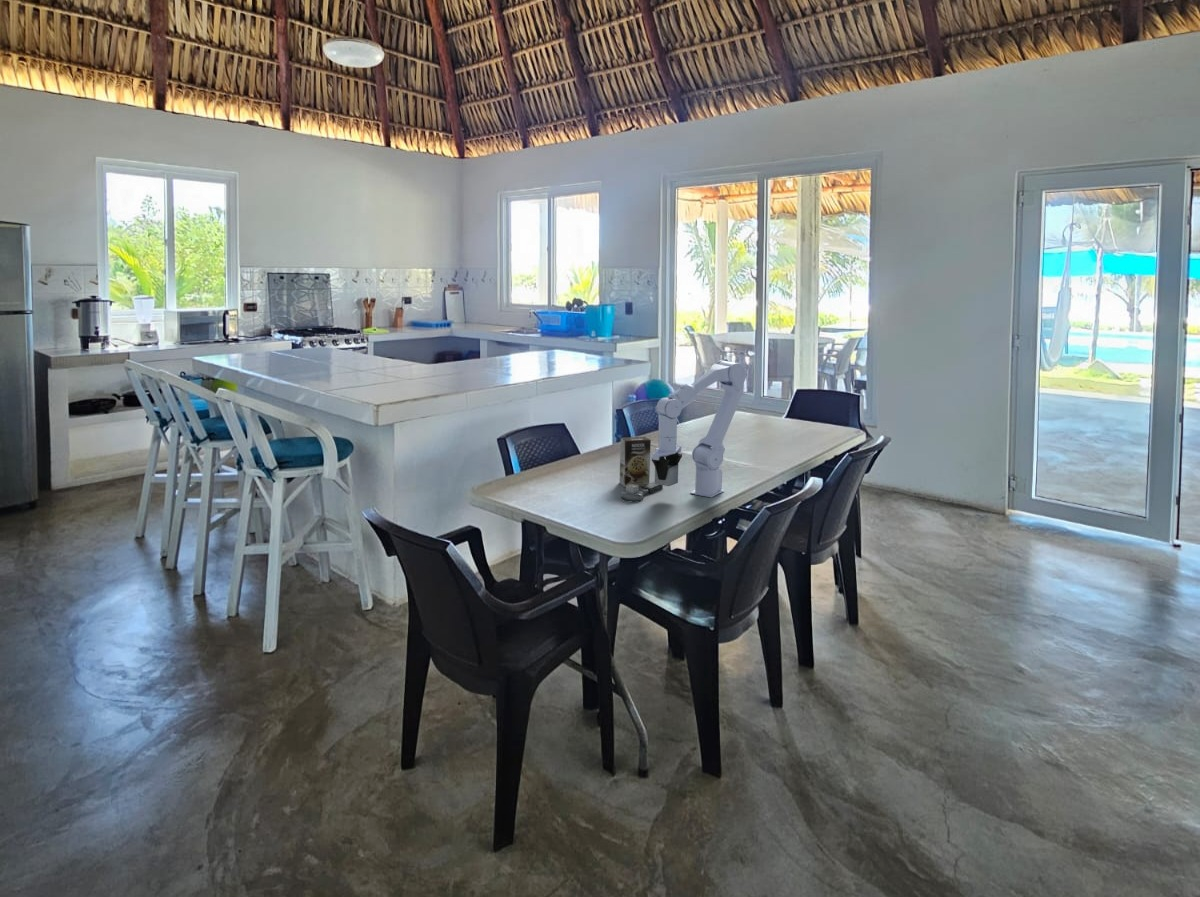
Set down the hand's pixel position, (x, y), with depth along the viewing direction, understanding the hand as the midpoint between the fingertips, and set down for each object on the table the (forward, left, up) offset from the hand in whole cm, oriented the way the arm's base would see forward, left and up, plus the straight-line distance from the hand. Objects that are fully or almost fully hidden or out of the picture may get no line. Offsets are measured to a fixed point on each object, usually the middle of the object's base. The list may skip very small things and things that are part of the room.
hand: (666, 477), depth 249 cm
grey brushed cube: (0, 0, -2) cm, 2 cm away
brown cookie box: (-9, -18, -7) cm, 21 cm away
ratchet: (0, -9, -7) cm, 12 cm away
